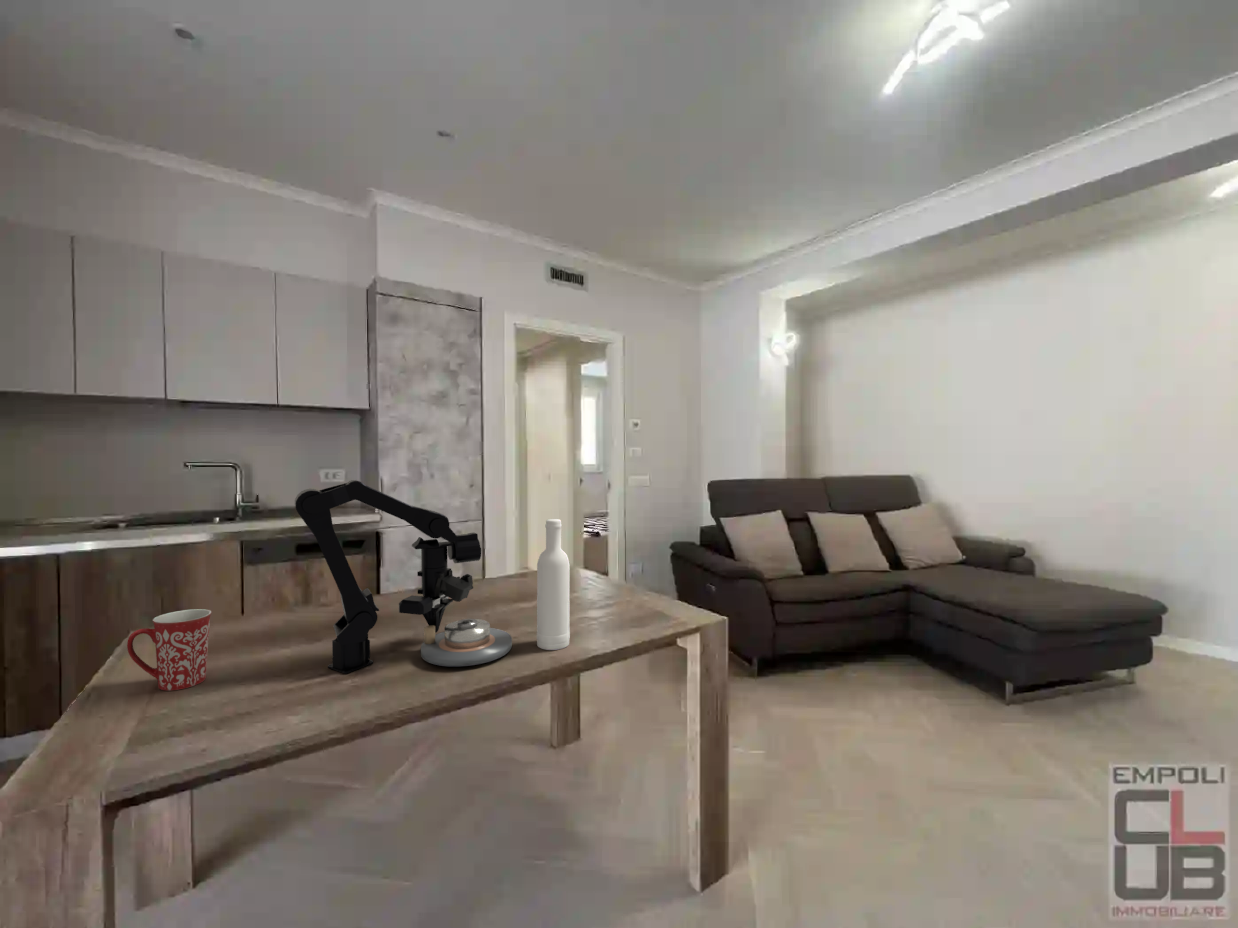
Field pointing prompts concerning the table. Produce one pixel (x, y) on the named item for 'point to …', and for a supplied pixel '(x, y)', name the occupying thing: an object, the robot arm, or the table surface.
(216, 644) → the table surface
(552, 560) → the bottle
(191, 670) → the mug
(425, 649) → the turntable
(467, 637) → the cover
